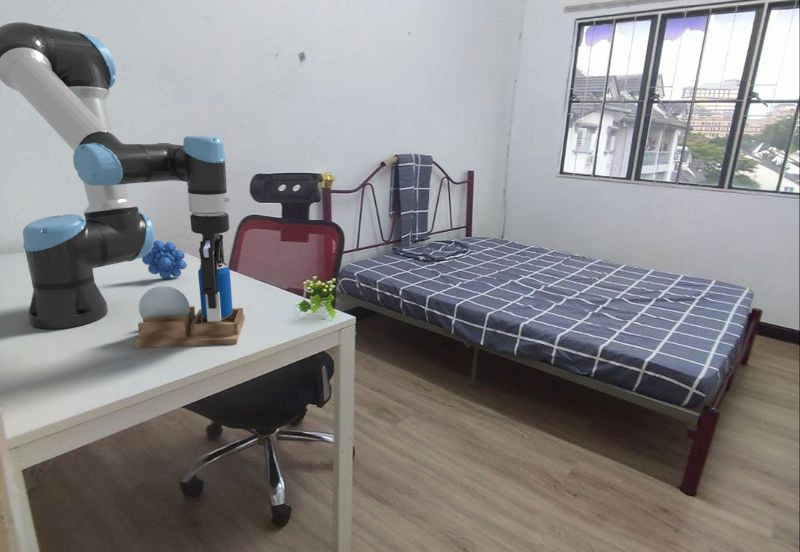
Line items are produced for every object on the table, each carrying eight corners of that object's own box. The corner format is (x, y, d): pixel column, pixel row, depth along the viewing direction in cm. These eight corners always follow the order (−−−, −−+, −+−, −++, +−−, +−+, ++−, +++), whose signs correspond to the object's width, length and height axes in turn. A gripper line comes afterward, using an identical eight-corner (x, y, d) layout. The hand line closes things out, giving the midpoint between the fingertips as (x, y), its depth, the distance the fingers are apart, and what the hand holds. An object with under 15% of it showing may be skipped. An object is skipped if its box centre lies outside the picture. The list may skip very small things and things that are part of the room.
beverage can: (239, 315, 106) (235, 264, 102) (215, 324, 100) (210, 271, 97) (219, 309, 109) (216, 259, 105) (195, 317, 103) (191, 265, 100)
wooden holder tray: (135, 348, 96) (132, 327, 95) (155, 321, 109) (153, 303, 108) (236, 343, 100) (235, 323, 99) (244, 318, 113) (243, 300, 112)
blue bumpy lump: (145, 285, 133) (140, 244, 130) (144, 278, 139) (139, 239, 135) (189, 280, 139) (185, 241, 135) (186, 274, 144) (183, 236, 141)
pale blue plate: (141, 330, 101) (136, 287, 98) (143, 329, 102) (137, 286, 99) (190, 329, 103) (186, 286, 100) (191, 327, 104) (187, 285, 101)
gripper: (220, 221, 89) (228, 331, 96) (234, 205, 107) (240, 299, 114) (178, 221, 88) (189, 333, 95) (200, 205, 106) (208, 300, 113)
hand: (217, 314), depth 104 cm, fingers closed on beverage can, 6 cm apart
